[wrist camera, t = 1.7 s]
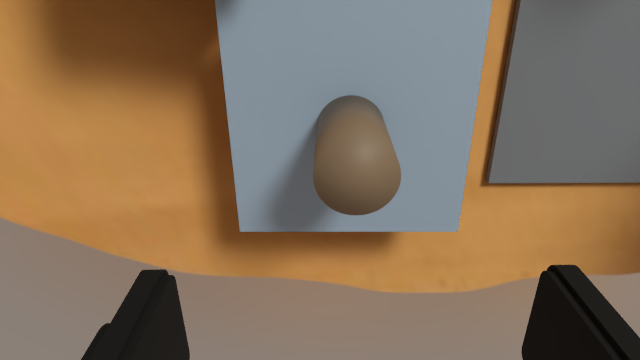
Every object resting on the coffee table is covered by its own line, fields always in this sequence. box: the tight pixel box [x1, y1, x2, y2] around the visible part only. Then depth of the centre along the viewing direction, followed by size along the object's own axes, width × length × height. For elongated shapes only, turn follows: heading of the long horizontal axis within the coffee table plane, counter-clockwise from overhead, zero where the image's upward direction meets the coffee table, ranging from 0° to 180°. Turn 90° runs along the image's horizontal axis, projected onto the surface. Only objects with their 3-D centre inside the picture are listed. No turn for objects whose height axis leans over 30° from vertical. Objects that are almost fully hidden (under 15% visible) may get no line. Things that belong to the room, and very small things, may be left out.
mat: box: [486, 0, 640, 183], centre depth 28 cm, size 14×14×1 cm
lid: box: [215, 0, 492, 232], centre depth 21 cm, size 13×13×7 cm
